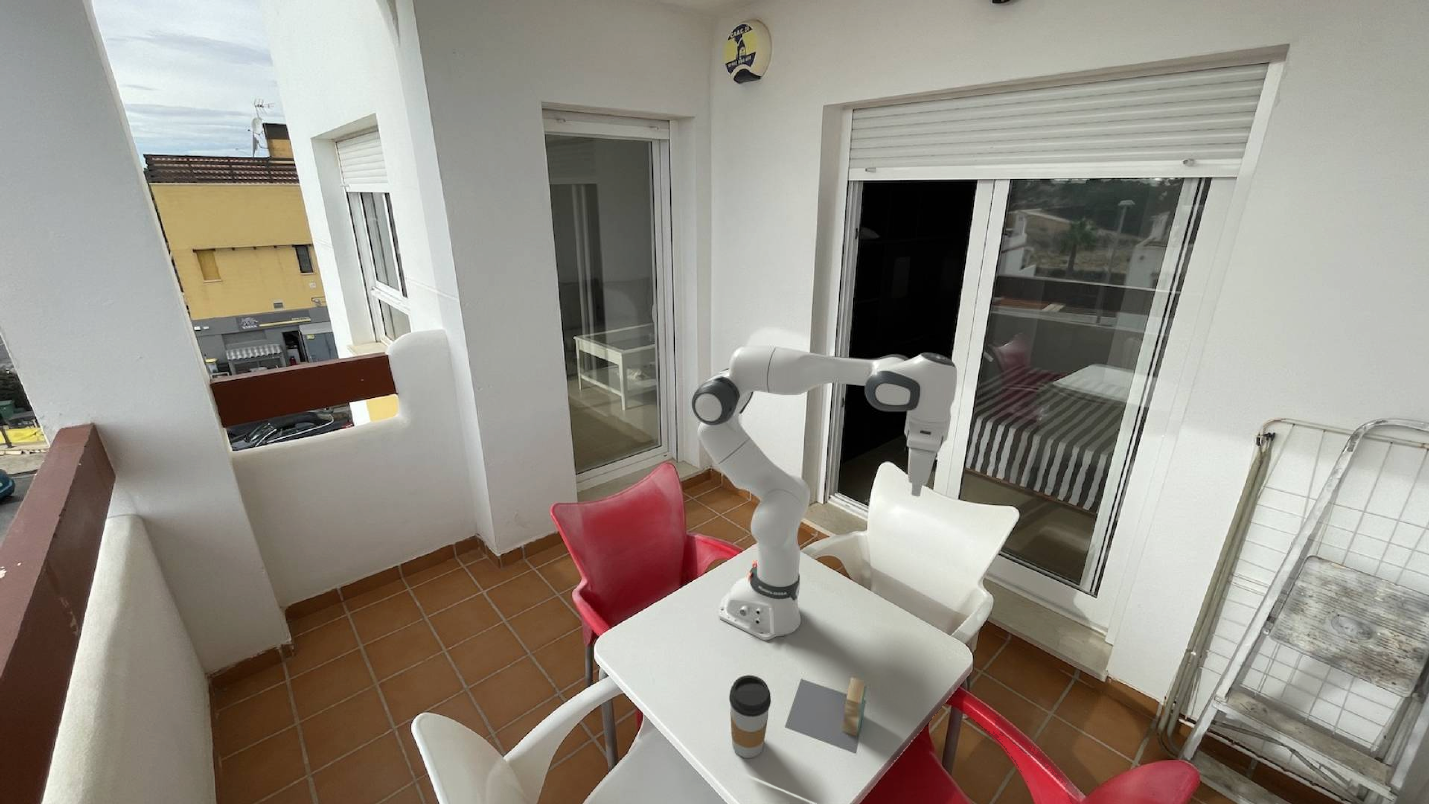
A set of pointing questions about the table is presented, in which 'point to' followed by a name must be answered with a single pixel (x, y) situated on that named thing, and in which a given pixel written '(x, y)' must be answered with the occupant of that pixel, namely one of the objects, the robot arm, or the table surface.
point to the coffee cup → (749, 715)
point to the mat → (821, 715)
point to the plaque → (854, 706)
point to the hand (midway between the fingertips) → (917, 485)
